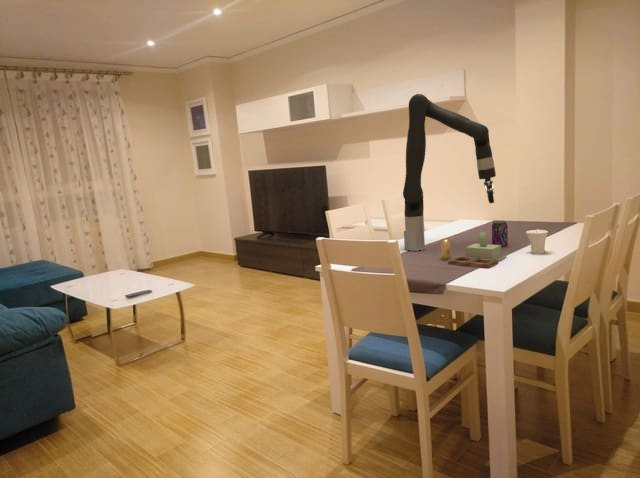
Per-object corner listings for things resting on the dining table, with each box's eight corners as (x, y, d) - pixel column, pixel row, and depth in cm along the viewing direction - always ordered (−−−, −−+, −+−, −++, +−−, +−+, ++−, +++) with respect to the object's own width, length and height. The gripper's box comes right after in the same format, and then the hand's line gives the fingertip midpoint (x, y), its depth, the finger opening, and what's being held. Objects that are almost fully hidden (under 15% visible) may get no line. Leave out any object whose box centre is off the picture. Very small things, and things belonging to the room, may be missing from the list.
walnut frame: (448, 264, 198) (448, 260, 198) (458, 259, 205) (458, 256, 205) (488, 268, 186) (488, 264, 186) (498, 263, 192) (498, 260, 192)
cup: (548, 250, 207) (549, 229, 206) (547, 255, 200) (547, 232, 198) (527, 250, 212) (527, 228, 210) (524, 254, 204) (524, 232, 202)
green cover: (465, 258, 204) (465, 233, 202) (475, 254, 210) (474, 230, 208) (492, 260, 196) (492, 235, 194) (501, 256, 202) (500, 231, 200)
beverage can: (498, 248, 221) (497, 223, 219) (489, 245, 228) (488, 221, 225) (510, 246, 223) (510, 221, 220) (501, 244, 229) (501, 220, 227)
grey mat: (460, 259, 205) (460, 258, 204) (471, 254, 212) (471, 253, 212) (496, 263, 194) (496, 261, 193) (506, 257, 201) (506, 256, 201)
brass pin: (439, 259, 207) (439, 240, 206) (444, 258, 210) (443, 238, 208) (448, 260, 204) (447, 240, 203) (452, 258, 207) (451, 239, 206)
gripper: (477, 168, 223) (482, 201, 225) (477, 170, 210) (483, 205, 212) (493, 165, 221) (498, 198, 223) (495, 167, 207) (500, 202, 209)
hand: (491, 201), depth 217 cm, fingers open, 8 cm apart
